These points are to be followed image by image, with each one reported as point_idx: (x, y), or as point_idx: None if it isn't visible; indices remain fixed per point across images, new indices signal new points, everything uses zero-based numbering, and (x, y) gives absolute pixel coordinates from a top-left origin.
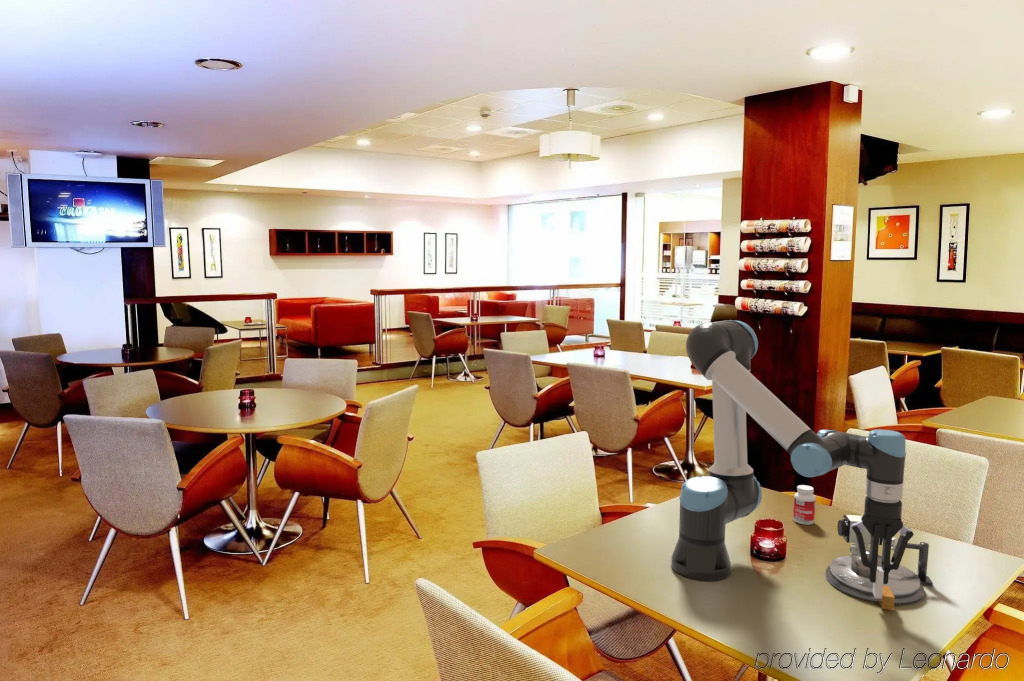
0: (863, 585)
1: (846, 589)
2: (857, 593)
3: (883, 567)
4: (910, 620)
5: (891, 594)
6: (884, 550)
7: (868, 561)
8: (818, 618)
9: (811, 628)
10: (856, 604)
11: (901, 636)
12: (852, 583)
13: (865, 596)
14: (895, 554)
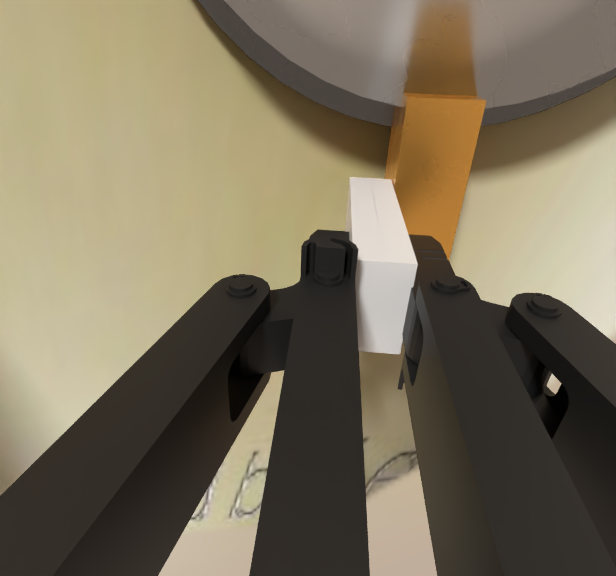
0: (319, 60)
1: (224, 23)
2: (285, 71)
3: (405, 361)
4: (484, 268)
5: (444, 235)
6: (437, 533)
7: (271, 362)
8: (106, 327)
9: (91, 390)
10: (269, 164)
11: (386, 385)
12: (249, 25)
13: (326, 106)
14: (582, 476)
